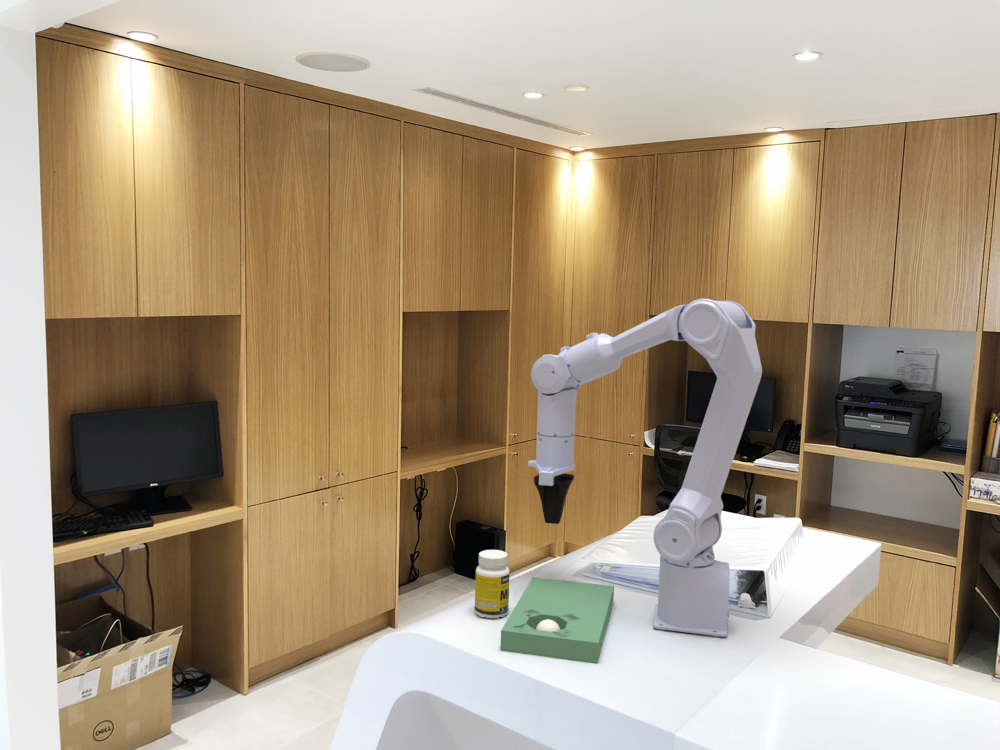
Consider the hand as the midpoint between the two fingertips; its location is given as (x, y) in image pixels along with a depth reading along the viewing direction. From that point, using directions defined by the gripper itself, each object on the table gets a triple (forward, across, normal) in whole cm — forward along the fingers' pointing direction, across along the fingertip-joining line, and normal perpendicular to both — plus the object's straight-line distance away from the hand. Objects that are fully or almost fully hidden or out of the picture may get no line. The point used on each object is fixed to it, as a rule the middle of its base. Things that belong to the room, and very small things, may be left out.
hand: (552, 522), depth 117 cm
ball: (+8, +21, +3) cm, 23 cm away
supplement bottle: (+10, +13, -6) cm, 18 cm away
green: (+10, +14, +4) cm, 18 cm away
